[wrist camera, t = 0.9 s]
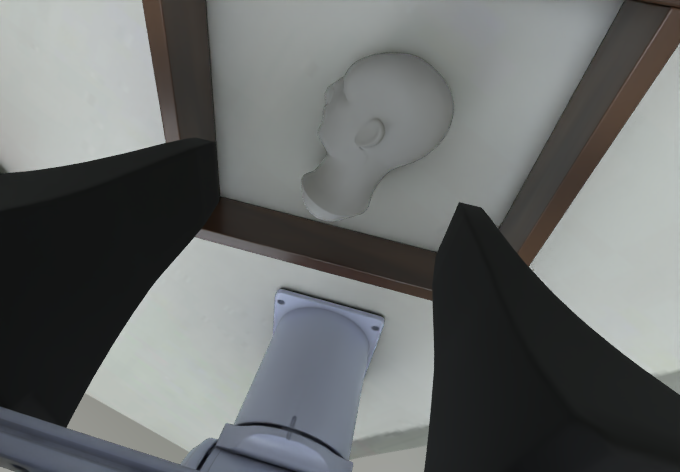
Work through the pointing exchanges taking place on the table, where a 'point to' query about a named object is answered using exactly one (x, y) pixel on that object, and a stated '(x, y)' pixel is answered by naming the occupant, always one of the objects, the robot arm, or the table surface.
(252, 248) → the bin
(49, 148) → the table surface
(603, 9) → the table surface
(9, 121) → the table surface
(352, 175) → the smooth white sculpture
